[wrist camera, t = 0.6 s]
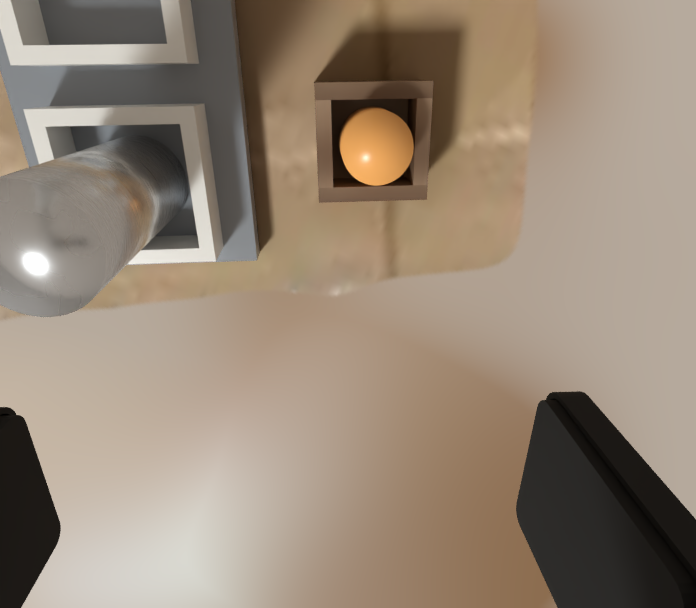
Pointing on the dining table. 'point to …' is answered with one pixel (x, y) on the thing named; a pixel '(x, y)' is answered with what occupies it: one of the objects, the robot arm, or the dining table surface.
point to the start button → (375, 145)
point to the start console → (394, 96)
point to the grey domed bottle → (82, 221)
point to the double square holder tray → (141, 103)
